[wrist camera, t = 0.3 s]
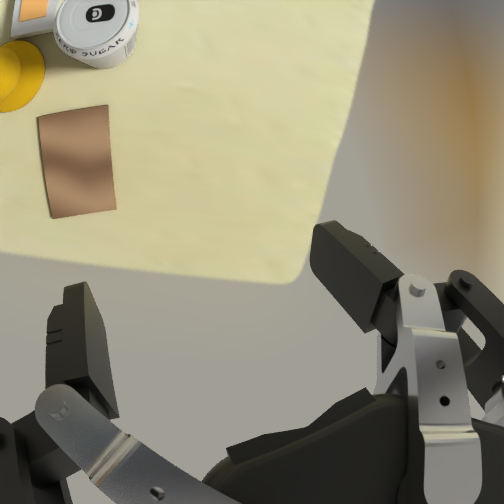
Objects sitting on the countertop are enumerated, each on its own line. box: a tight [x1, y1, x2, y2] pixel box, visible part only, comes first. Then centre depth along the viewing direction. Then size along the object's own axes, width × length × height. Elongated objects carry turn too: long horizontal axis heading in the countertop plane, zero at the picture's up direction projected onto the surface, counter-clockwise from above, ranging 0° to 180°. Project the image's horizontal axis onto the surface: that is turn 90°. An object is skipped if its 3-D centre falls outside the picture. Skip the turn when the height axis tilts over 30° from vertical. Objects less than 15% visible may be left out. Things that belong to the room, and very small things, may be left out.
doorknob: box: [0, 40, 45, 112], centre depth 20 cm, size 8×8×8 cm
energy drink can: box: [53, 0, 139, 69], centre depth 20 cm, size 6×6×15 cm
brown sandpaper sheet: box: [38, 105, 117, 219], centre depth 31 cm, size 12×8×1 cm, turn 177°
